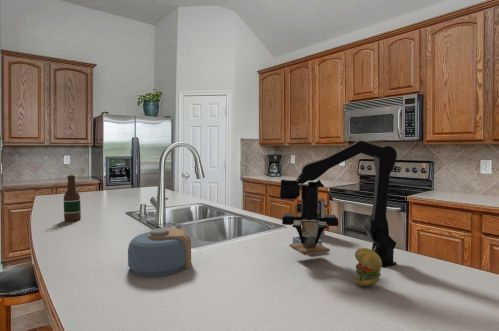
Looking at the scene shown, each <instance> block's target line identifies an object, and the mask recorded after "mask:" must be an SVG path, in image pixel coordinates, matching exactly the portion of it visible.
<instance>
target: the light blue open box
mask: <svg viewBox="0 0 499 331" xmlns="http://www.w3.org/2000/svg"><path fill="white" fill-rule="evenodd" d="M306 236H307V235H306ZM295 243H301V240H300V236H299V235H298V236H292V244H295ZM318 244H320V245H322V246H323V240H322V239H321V238H319V240H318Z"/></svg>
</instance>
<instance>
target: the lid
mask: <svg viewBox="0 0 499 331" xmlns="http://www.w3.org/2000/svg"><path fill="white" fill-rule="evenodd" d="M289 248H292V249H293V250H294V251H297V252H298V253H300V254H301V255H303V256H307V255H309V256H310V255H316V254H322V253H329V252H331V249H330V248H329V247H326V246H324V245H323V244H322V245H320V244H318V243H317V245H316V237H314V236H312V235H307V236H303V244H302V243H295V244H293V243H290V244H289Z"/></svg>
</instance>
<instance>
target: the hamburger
mask: <svg viewBox="0 0 499 331" xmlns="http://www.w3.org/2000/svg"><path fill="white" fill-rule="evenodd" d="M375 248H376V247H375ZM375 248H374V251H375ZM374 251H373V250H372V248H371V249H370V248H367V247H361V248H358V249H357V250H356V251H355V252H354V257H355V259H356V261H358V263H357V264H355V269H356V270H355V272H356V278H355V280H354V282H355V284H356V285H357V286H360V287H369V286H372V285H375V284H377V283H378V282H379V280H380V277H381V276H382V274H381V271H382V260H381V258H380V257H379V255H378V254H377V253H376V252H374Z"/></svg>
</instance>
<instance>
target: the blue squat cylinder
mask: <svg viewBox="0 0 499 331" xmlns="http://www.w3.org/2000/svg"><path fill="white" fill-rule="evenodd" d="M191 240H192V239H191V237H190V236H189V234H188V233H187V231H185V230H183V229H181V228H176V227H160V228H153V229H151V230H150V231H148V232H144V233H140V234H138V235H136V236H134V237H133V238H132V239H131V240H130V241H129V244H128V246H127V263H128V264H127V266H128V268H129V269H131V272H132V271H133V272H132V273H133V274H135V275H137V276H141V277H148V276H153V277H162V276H163V275H164V276H167V275H168V274H169V275H172V274H175V273H178V272H179V271H182V270H183V269H190V268H191V266H192V241H191ZM169 275H168V276H169ZM164 276H163V277H164Z"/></svg>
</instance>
